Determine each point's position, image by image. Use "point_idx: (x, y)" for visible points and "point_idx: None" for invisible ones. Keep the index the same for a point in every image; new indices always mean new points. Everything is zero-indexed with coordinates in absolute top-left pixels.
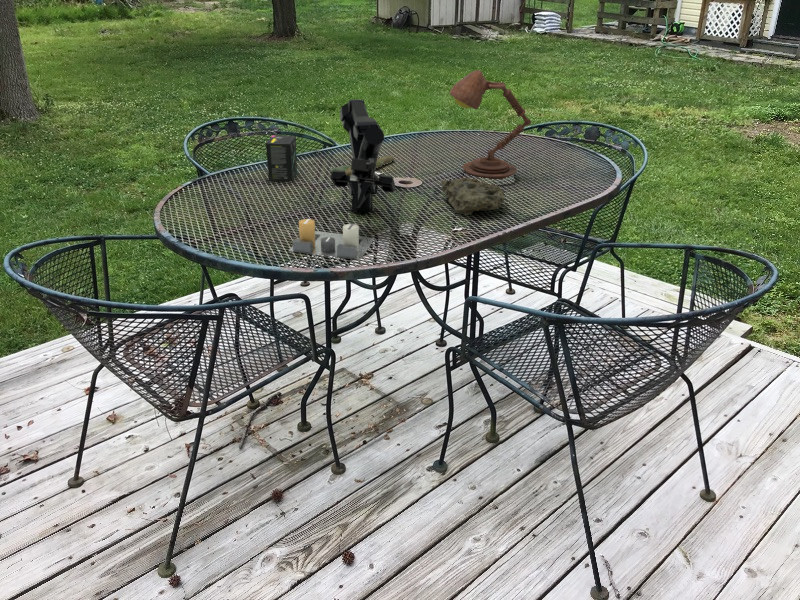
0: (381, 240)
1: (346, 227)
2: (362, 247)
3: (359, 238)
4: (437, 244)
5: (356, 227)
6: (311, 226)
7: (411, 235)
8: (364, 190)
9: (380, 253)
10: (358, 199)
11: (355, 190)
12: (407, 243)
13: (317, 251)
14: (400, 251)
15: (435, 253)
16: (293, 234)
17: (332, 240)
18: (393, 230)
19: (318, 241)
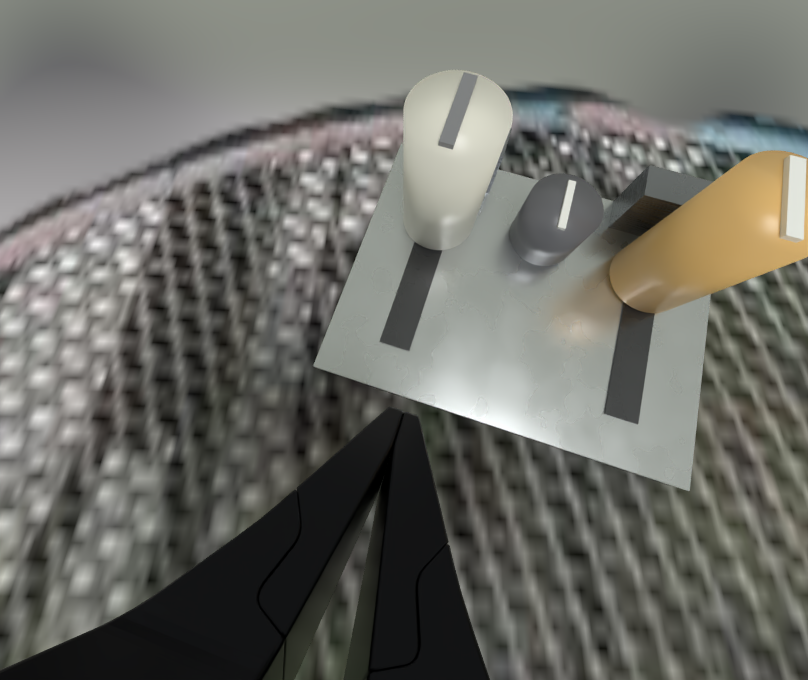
0: (282, 384)
1: (487, 104)
2: (384, 252)
3: (393, 360)
4: (21, 328)
5: (419, 102)
6: (724, 175)
7: (110, 449)
8: (214, 599)
9: (309, 241)
10: (381, 503)
11: (438, 650)
12: (162, 344)
13: None
14: (217, 258)
15: (71, 234)
16: (745, 479)
17: (541, 196)
18: (190, 530)
19: (600, 328)
